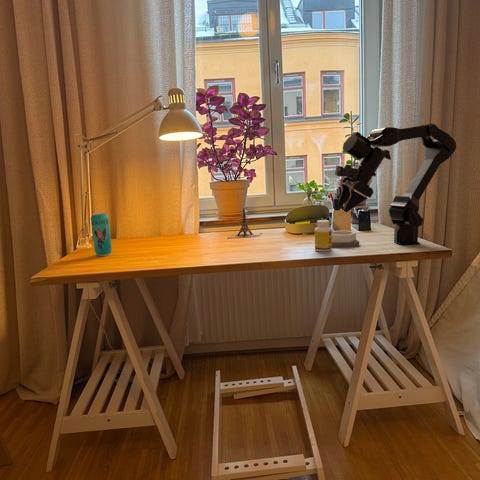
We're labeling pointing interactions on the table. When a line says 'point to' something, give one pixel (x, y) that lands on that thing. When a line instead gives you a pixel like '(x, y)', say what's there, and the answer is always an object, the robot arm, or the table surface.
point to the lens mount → (344, 239)
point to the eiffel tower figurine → (245, 228)
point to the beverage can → (101, 234)
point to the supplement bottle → (323, 236)
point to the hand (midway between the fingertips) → (341, 208)
